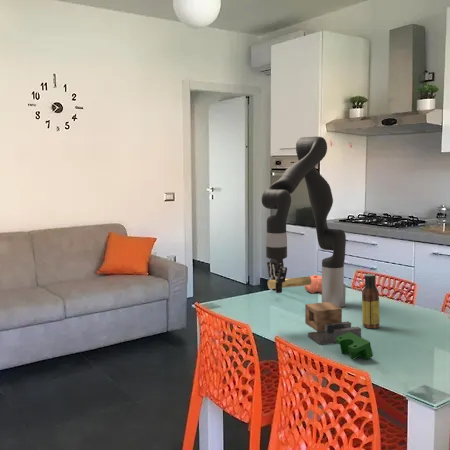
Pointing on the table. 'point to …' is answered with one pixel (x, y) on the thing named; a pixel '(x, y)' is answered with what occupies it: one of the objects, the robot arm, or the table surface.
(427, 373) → the table surface
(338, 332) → the rest
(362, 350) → the clamp
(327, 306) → the wooden mallet head
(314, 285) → the pink cube teapot
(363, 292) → the sauce bottle
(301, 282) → the cannon barrel
